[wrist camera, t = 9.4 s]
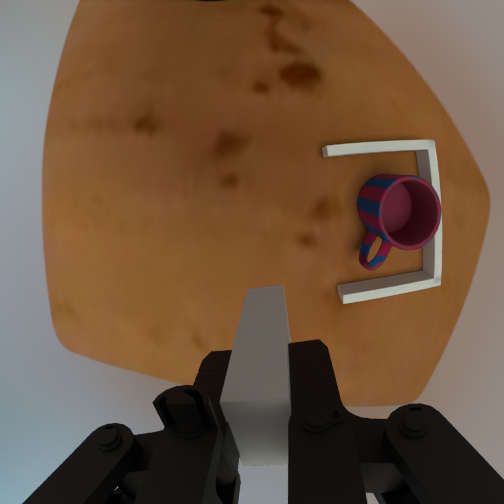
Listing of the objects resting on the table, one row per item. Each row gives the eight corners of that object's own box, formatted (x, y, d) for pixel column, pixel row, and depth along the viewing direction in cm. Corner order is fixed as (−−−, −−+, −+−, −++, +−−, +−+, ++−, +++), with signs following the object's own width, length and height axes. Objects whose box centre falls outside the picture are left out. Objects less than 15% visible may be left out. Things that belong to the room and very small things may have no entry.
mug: (421, 201, 29) (452, 209, 22) (368, 269, 32) (389, 291, 25) (381, 161, 28) (407, 159, 22) (325, 232, 31) (338, 248, 24)
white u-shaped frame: (321, 148, 29) (326, 145, 26) (421, 141, 27) (434, 139, 24) (338, 292, 32) (343, 303, 30) (429, 276, 31) (440, 285, 28)
